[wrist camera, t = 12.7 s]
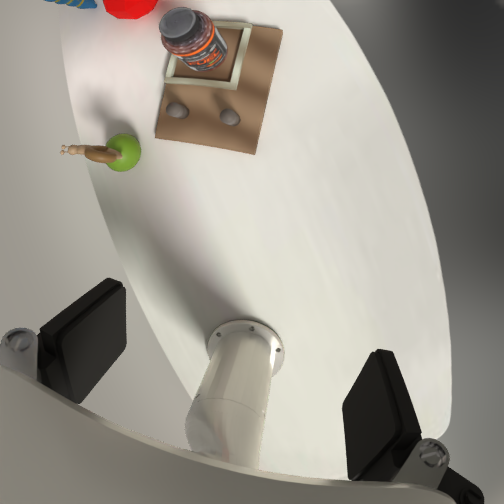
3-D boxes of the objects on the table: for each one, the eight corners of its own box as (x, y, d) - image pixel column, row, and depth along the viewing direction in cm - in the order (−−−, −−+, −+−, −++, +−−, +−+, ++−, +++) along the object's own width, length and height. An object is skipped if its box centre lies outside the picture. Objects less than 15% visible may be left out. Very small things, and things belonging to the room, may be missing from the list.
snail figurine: (117, 130, 38) (64, 127, 27) (151, 138, 38) (102, 136, 27) (109, 164, 40) (56, 171, 29) (142, 174, 40) (92, 183, 29)
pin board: (255, 154, 37) (249, 154, 32) (158, 138, 38) (142, 137, 33) (282, 33, 31) (280, 18, 26) (186, 25, 32) (173, 12, 27)
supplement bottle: (200, 81, 33) (164, 57, 23) (179, 52, 32) (140, 24, 22) (238, 56, 32) (215, 22, 21) (214, 28, 31) (186, -10, 20)
